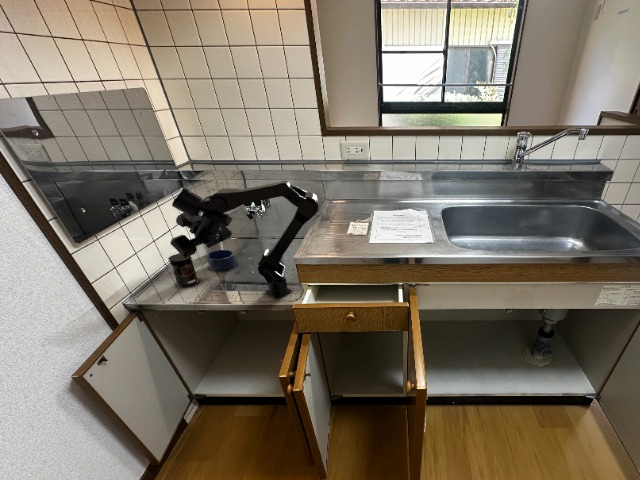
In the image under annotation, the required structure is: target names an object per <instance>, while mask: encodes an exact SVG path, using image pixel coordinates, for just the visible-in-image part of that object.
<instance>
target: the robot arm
mask: <svg viewBox="0 0 640 480" xmlns="http://www.w3.org/2000/svg"><path fill="white" fill-rule="evenodd" d="M281 197H283V198H284V199H285V200H287V201H288V202H290V204H292V205H293V206H295V207H296V210H295V212H294V215H293V217H292V218H291V220H290V221H289V223H288V224H287V226H286V227H285V229H284V230H283V231H282V234H281V235H280V236H279V237H278V240H277V241H276V243H275V244H274V246H273V247H272V248H271V249H269V248H267V247H266V248H265V249H264V252H263V253H262V254H261V255H260V257H259V259H258V261H257V264H256V265H257V266H258V267H257V272H258V273H259V275H261V276H262V277H263V278H264V280H265V281H266V283H267V287H268V290H266V291H265V294H267V295H269V296H271V297H273V298H274V299H279V298H281V297H284V296H286V295H287V294H289V293H292V289H290V288H288V283H287V278H286V276H285V271H286V268H287V267H286V266H285V265H284V264H282V263H281V261H282V258H283V256H284V254H285V253H286V251H287V250H288V249H289V247H290V245H291V244H292V243H293V241H294V240H295V238H296V236H297V235H298V234H299V232H300V230H301V229H302V228H303V226H304V225H305V224H306V223H307V222H309V221H310V220H311V219H312V218H313V217H314V216H315V215H316V214H317V213H318V211H319V209H320V207H319V206H320V199H319V197H318V196H317V195H316V194H315V193H313V192H311V191H310V192H308V191H306V190H305V189H303V188H300V187H298V186H296V185H293V184H292V183H291V182H289V181H287V180H280V181H277V182H272V183H267V184H263V185H262V184H261V185H256V186H252V187H248V188H234V187H233V188H232V187H231V188H220V189H218V190H216V191H215V192H214V193H213V194H210V195H207V196H205V197H204V198H203V197H202V196H200V195H198V194H197V193H194V192H193V191H192V190H191V189H189V188H188V187H186V186H185V187H184V188H182V189H181V190H180V192H179V193H178V195H177V196H176V197H175V198H174V200H173V201H172V204H171V207H173V208H175V209H176V210H178V211H180V212H182V213H180V214H178V215H177V217H176V218H175V223H176V225H178V226H180V227H181V228H185V227H186V228H188V229H189V230H188V232H189V233H191V234H192V235H194V238H191V239H189V237H188V236H187V235H185V234H180V235H177V236H174V237H172V238H171V240H170V243H169V244H170V246H172V247H173V248H174V249H175V250H176V251H177V252H178V254H181V255H182V256H183V257H184V258H187V257H189V256H191V257H192V256H193V255H195V254H196V252H197V251H198V248H197V247H198V246H200V245H202V244H203V243H204V244H205V245H206V247H207V248H210V247H212V246H214V245H216V244H218V243H220V242H222V243H223V242H225V241H227V240H228V239H230V238H231V237H232V235H233V232H232V230H231V229H230V228H229V226H230V224H231V223H232V221H233V218H232V216H230V214H229V213H227V212H230V211H233V210H235V209H237V208H239V207H241V206H243V205H246V204H251V203H256V202H261V201H265V200H270V199H276V198H281ZM201 214H202V215H201Z"/></svg>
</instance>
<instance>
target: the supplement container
mask: <svg viewBox="0 0 640 480" xmlns="http://www.w3.org/2000/svg"><path fill="white" fill-rule="evenodd" d="M167 259H168V263H169V265H170V268H171V271H172V274H173V277H174V279H175V282H176V285H177V286H179V287H181V288H189V287H192V286H195V285H197V283H198V282H199V278H198V275H197V273H196V272H197V271H196V269H195V266H194V262H193V259H192V255H191V256H189V257H187V258H184V257H183V256H182V255H181V254H180V253H176V254H172V255H170V256H169V257H168V258H167Z"/></svg>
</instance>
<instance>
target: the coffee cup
mask: <svg viewBox="0 0 640 480" xmlns="http://www.w3.org/2000/svg"><path fill="white" fill-rule="evenodd" d="M201 245H202V248H203V249H204V252H205V255H206V256H207V254H208V253H210V252H213V251H217V250H224V246H223V241H222V242H220V243H218V244H216V245H214V246H212V247H210V248H207V247H206V245H205V244H204V243H203V244H201Z"/></svg>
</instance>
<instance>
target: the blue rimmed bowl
mask: <svg viewBox="0 0 640 480" xmlns="http://www.w3.org/2000/svg"><path fill="white" fill-rule="evenodd" d="M206 261H207V264H208V267H209V269H210V271H213V272H224V271H229V270H231V269H234V268H235V267H236V266H237V261H236V256H235V252H234V251H232V250H230V249H223V250H217V251H213V252H210V253H208V254H207V255H206Z"/></svg>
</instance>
